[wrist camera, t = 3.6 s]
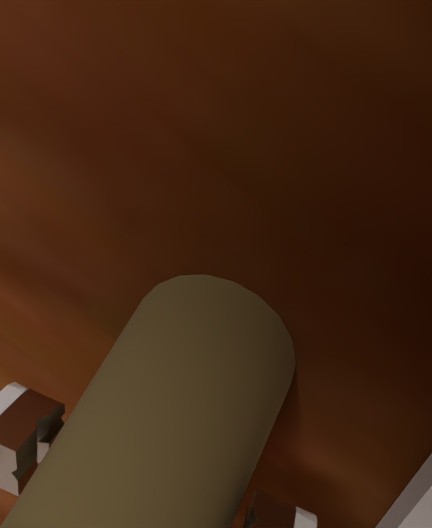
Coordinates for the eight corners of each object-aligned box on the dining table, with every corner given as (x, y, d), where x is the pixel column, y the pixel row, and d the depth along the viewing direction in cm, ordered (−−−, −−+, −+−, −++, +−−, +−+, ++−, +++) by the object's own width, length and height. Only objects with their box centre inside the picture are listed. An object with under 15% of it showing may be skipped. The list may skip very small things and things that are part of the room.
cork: (265, 257, 12) (-63, 924, 3) (316, 412, 14) (229, 1116, 5) (108, 290, 15) (-346, 696, 5) (170, 417, 17) (-80, 883, 7)
